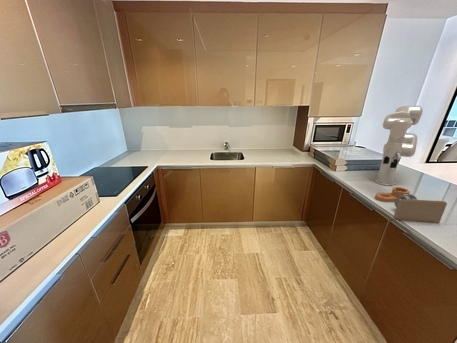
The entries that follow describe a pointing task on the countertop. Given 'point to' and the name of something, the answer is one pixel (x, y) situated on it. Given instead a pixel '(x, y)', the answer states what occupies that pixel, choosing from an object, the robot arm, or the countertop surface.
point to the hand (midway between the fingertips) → (389, 165)
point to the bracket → (391, 194)
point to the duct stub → (418, 209)
